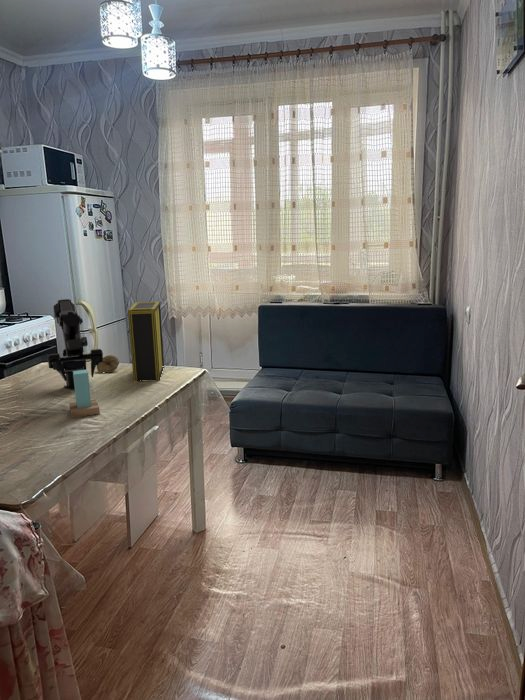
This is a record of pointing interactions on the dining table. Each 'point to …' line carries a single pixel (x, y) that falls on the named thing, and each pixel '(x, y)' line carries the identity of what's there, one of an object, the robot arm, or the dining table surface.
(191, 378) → the dining table surface
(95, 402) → the base brick
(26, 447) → the dining table surface
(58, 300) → the robot arm
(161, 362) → the diorama
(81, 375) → the tall block
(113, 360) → the fossil
